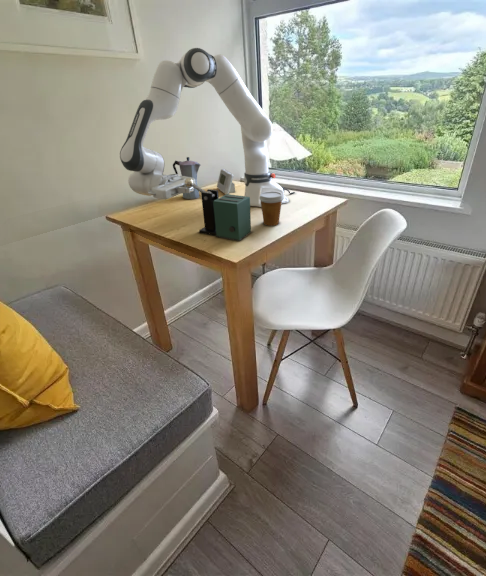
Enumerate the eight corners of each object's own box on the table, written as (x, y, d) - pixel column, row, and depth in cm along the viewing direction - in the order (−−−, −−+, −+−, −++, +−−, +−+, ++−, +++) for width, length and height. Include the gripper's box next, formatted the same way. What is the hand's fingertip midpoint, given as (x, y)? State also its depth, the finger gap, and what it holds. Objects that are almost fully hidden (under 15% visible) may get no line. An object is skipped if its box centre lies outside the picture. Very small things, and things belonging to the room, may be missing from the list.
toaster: (214, 237, 123) (211, 201, 116) (228, 228, 131) (226, 193, 123) (238, 242, 119) (235, 204, 112) (251, 232, 127) (249, 196, 120)
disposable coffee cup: (287, 222, 135) (288, 194, 128) (271, 229, 129) (271, 199, 123) (270, 217, 141) (270, 189, 134) (255, 223, 135) (254, 194, 129)
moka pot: (201, 200, 165) (196, 159, 155) (173, 199, 168) (166, 158, 157) (207, 195, 173) (203, 155, 162) (180, 194, 176) (174, 155, 165)
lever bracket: (199, 233, 128) (194, 192, 119) (210, 226, 134) (206, 187, 125) (216, 236, 125) (212, 195, 116) (227, 229, 131) (224, 189, 122)
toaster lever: (181, 185, 123) (183, 177, 121) (187, 183, 126) (189, 175, 124) (209, 203, 121) (211, 195, 119) (214, 200, 124) (216, 192, 122)
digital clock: (216, 188, 185) (215, 168, 179) (232, 186, 186) (231, 167, 181) (219, 195, 171) (217, 175, 166) (236, 194, 173) (235, 173, 167)
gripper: (143, 184, 120) (172, 188, 115) (177, 173, 136) (205, 175, 130) (146, 201, 124) (175, 205, 118) (180, 188, 139) (206, 191, 134)
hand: (191, 189), depth 124 cm, fingers closed
